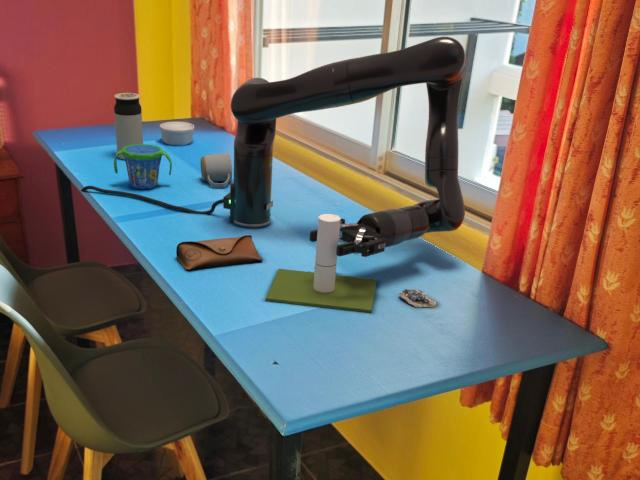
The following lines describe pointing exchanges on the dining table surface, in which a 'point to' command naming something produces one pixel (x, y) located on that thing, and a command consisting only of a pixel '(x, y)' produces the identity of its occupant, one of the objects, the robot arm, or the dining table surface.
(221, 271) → the dining table surface
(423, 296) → the rough mineral rock
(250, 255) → the sunglasses case
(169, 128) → the ramekin
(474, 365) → the dining table surface
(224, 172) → the ceramic mug
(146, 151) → the snack cup
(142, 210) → the dining table surface
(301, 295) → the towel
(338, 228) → the tube
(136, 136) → the travel mug
